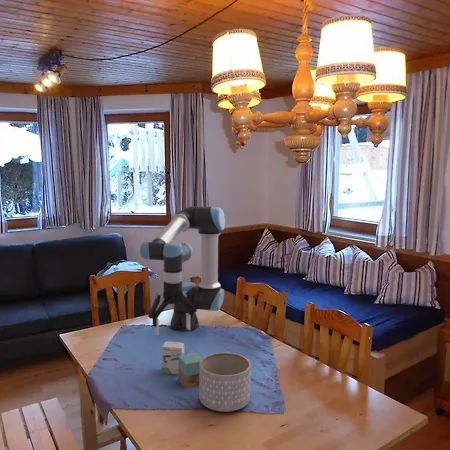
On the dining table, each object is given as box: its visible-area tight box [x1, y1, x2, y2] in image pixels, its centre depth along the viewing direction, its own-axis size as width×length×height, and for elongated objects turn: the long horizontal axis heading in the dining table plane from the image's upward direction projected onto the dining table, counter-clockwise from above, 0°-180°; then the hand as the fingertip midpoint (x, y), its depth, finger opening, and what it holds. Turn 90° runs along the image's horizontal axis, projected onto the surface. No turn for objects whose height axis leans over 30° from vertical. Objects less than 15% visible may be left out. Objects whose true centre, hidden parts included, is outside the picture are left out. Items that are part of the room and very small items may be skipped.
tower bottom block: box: [178, 369, 199, 389], centre depth 168 cm, size 8×8×5 cm
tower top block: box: [179, 351, 203, 377], centre depth 167 cm, size 8×8×5 cm
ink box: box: [161, 341, 185, 375], centre depth 175 cm, size 9×5×12 cm, turn 84°
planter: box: [198, 351, 252, 413], centre depth 154 cm, size 19×19×14 cm
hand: (172, 331), depth 174 cm, fingers open, 13 cm apart
